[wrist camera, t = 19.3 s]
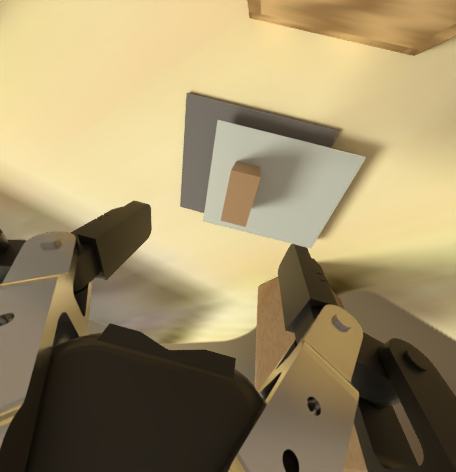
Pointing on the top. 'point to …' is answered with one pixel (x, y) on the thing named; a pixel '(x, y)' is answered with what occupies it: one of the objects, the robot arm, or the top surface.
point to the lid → (275, 183)
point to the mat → (203, 136)
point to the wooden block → (274, 347)
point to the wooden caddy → (366, 20)
